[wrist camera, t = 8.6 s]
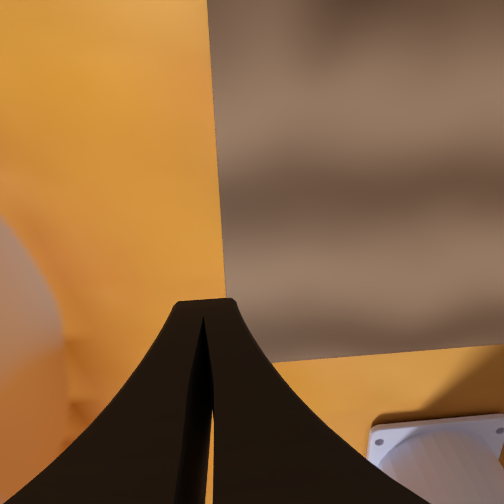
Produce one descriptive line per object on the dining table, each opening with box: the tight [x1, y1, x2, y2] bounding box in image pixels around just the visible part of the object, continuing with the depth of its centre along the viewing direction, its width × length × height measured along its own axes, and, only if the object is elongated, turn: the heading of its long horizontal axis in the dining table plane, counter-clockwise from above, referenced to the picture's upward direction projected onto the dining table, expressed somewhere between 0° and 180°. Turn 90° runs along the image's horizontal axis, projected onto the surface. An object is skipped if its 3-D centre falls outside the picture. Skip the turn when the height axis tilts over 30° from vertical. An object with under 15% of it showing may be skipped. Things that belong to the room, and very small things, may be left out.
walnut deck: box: [207, 0, 504, 363], centre depth 18 cm, size 14×13×2 cm
